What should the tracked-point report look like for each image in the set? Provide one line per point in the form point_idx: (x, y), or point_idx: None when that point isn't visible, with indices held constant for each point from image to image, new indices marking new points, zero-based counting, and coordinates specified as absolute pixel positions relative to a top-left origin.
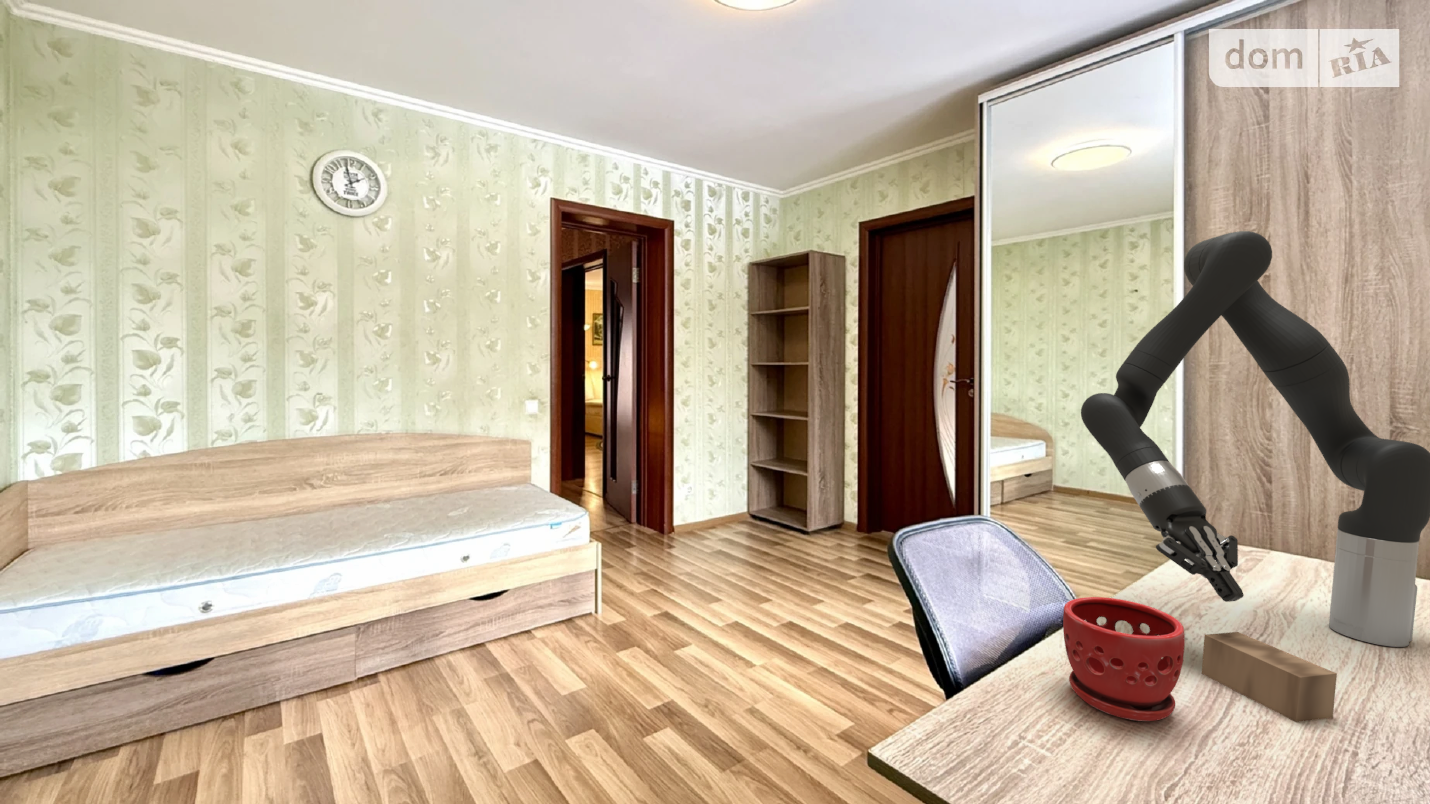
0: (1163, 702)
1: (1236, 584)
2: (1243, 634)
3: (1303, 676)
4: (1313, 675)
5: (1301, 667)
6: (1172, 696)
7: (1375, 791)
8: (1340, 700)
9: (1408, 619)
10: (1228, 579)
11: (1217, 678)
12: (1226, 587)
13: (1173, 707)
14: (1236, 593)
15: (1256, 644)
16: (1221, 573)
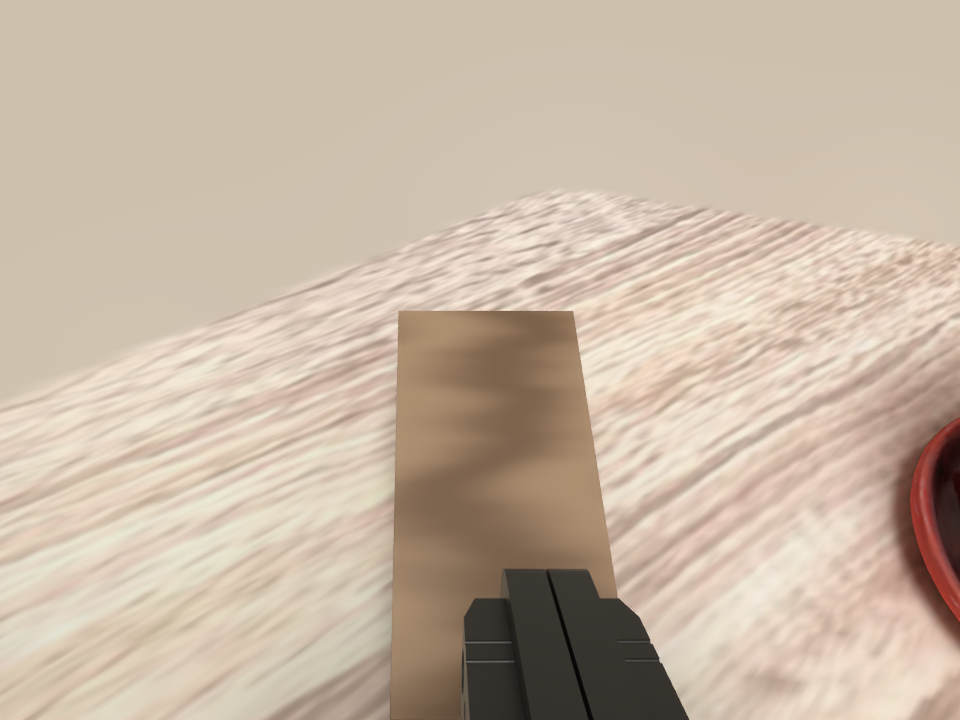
0: (947, 473)
1: (520, 619)
2: (396, 676)
3: (554, 313)
4: (508, 312)
5: (487, 359)
6: (927, 467)
7: (634, 201)
8: (247, 460)
9: None
10: (581, 657)
11: None
12: (614, 632)
13: (951, 424)
14: (570, 570)
15: (454, 557)
16: (638, 709)
